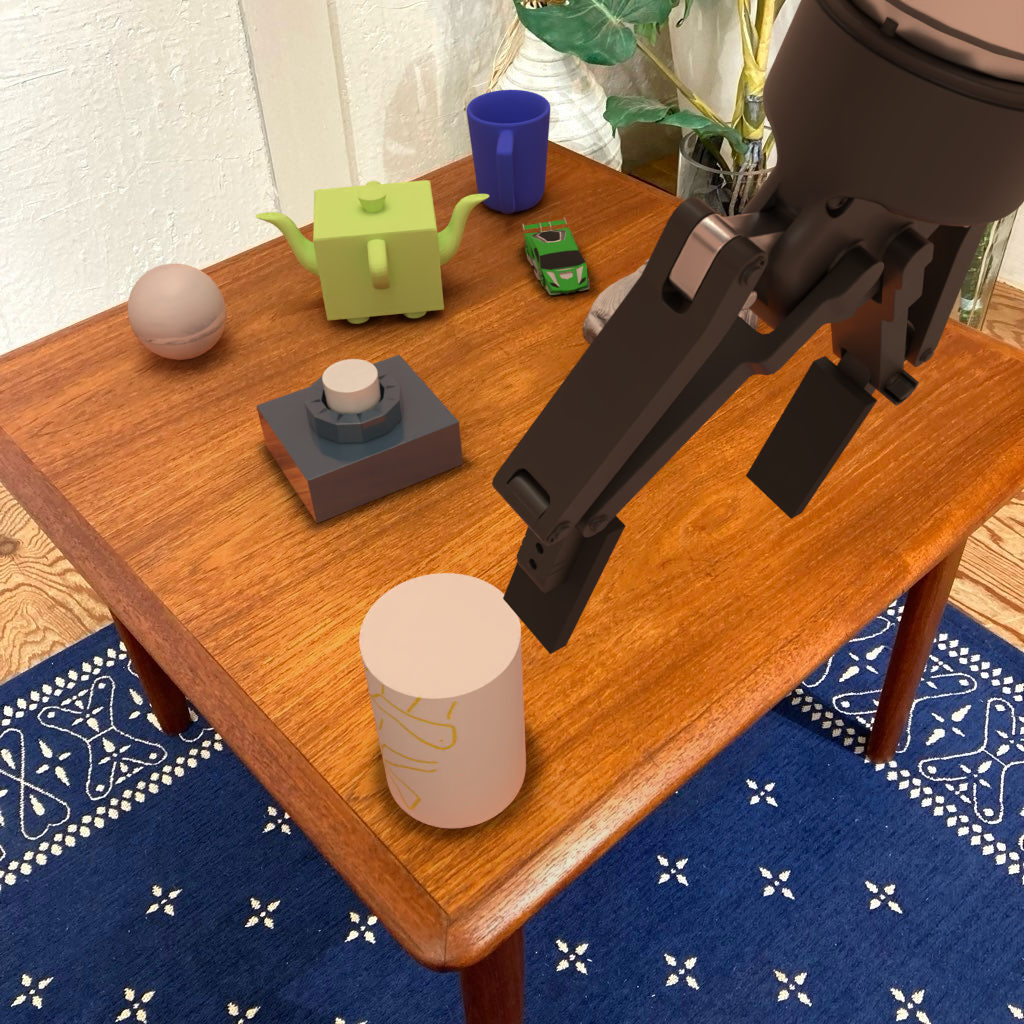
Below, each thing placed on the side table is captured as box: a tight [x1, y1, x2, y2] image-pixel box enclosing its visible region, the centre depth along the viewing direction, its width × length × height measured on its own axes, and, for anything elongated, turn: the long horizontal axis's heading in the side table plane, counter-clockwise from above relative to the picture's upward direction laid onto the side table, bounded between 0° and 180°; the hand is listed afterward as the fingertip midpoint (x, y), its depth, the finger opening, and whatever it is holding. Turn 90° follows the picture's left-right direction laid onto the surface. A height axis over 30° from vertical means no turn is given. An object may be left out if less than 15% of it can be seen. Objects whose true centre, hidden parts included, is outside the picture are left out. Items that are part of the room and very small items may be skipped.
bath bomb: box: [127, 262, 228, 361], centre depth 90 cm, size 8×8×8 cm
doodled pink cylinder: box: [358, 572, 527, 829], centre depth 58 cm, size 8×8×12 cm
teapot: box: [255, 179, 489, 324], centre depth 94 cm, size 15×13×11 cm
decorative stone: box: [582, 257, 760, 345], centre depth 89 cm, size 15×14×10 cm
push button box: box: [256, 354, 464, 524], centre depth 80 cm, size 12×10×6 cm
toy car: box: [521, 217, 590, 296], centre depth 100 cm, size 10×5×2 cm, turn 13°
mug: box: [466, 89, 551, 215], centre depth 106 cm, size 8×12×10 cm
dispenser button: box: [321, 358, 381, 414], centre depth 78 cm, size 4×4×2 cm
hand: (664, 553), depth 41 cm, fingers open, 13 cm apart
